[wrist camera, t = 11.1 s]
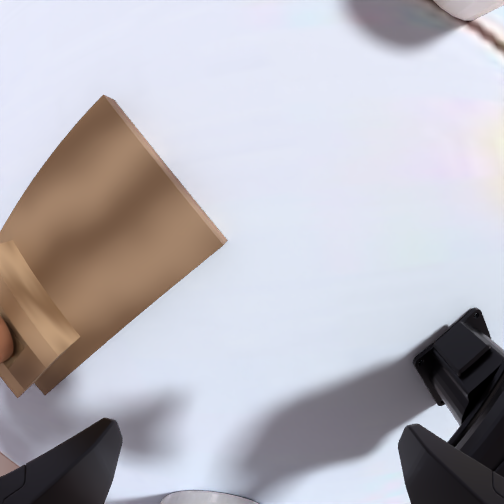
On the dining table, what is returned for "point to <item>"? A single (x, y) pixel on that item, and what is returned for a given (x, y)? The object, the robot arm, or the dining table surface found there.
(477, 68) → the dining table surface
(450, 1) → the white cup
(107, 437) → the robot arm
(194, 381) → the dining table surface
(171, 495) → the utensil holder
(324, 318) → the dining table surface
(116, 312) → the wooden socket base
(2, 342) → the plug
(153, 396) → the dining table surface
